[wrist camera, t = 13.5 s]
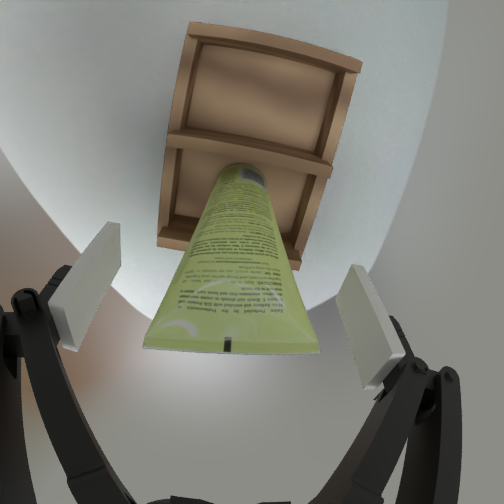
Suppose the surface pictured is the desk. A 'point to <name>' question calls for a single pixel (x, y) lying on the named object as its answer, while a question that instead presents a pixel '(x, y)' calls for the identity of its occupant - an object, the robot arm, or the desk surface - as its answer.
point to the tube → (234, 280)
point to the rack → (253, 126)
